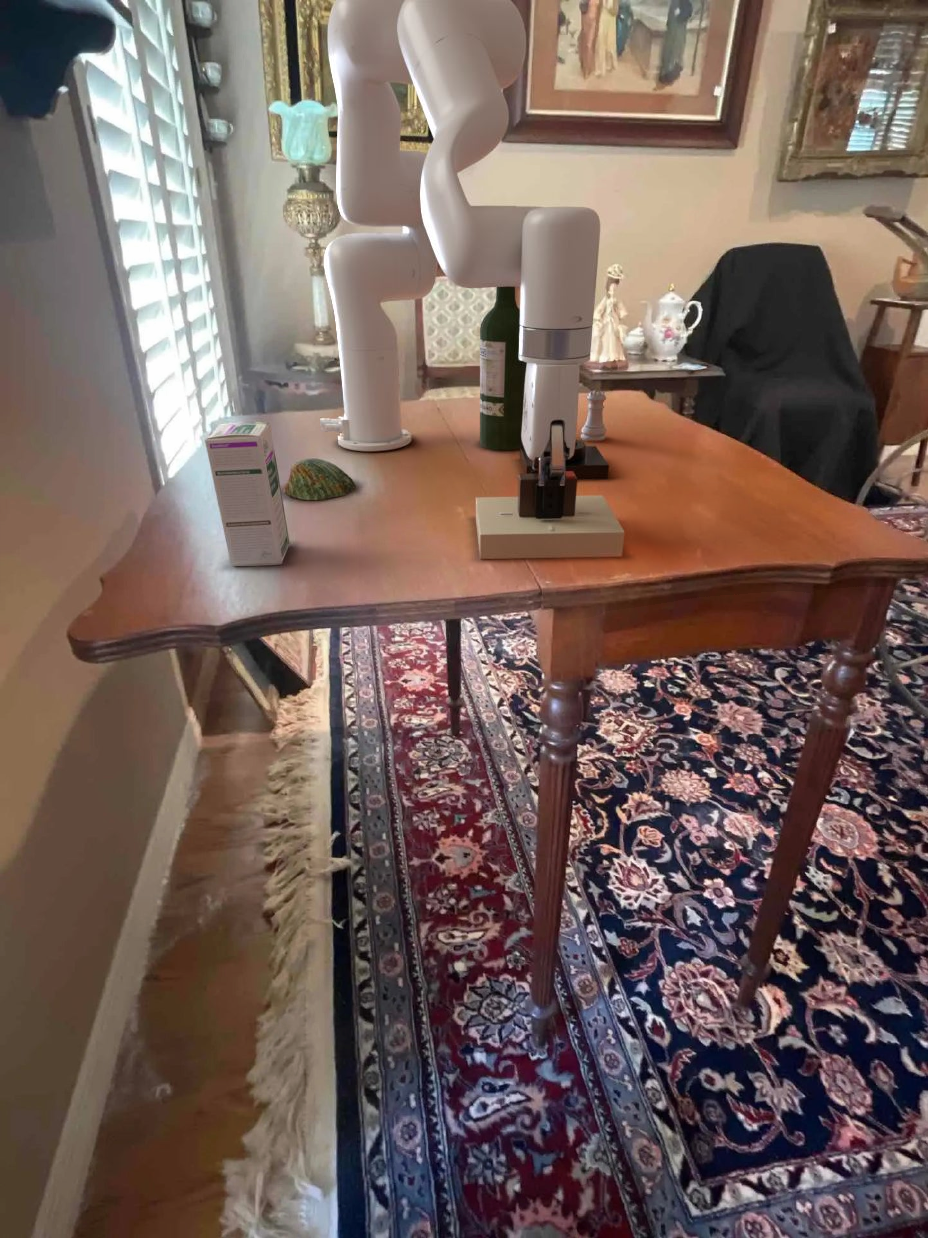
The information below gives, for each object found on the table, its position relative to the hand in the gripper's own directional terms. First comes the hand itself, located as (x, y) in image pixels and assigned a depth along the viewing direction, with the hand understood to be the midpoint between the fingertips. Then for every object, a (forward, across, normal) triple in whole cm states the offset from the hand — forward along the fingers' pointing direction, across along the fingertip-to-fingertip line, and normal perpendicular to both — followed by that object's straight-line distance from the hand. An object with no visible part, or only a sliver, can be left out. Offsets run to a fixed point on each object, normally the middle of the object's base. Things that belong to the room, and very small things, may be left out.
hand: (545, 508), depth 81 cm
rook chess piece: (+4, -43, +14) cm, 45 cm away
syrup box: (+4, +4, -33) cm, 33 cm away
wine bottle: (+4, -40, -2) cm, 40 cm away
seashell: (+4, -19, -30) cm, 36 cm away
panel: (+4, 0, 0) cm, 4 cm away
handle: (+1, 0, 0) cm, 1 cm away
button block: (+4, -26, +6) cm, 27 cm away
